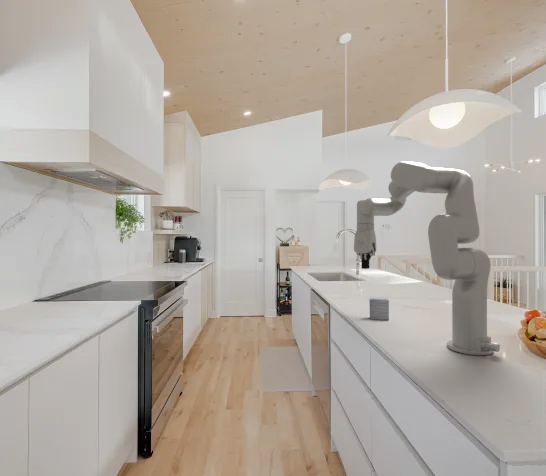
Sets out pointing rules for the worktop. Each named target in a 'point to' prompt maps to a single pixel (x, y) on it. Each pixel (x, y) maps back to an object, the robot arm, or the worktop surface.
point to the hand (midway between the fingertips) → (365, 268)
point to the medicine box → (379, 308)
